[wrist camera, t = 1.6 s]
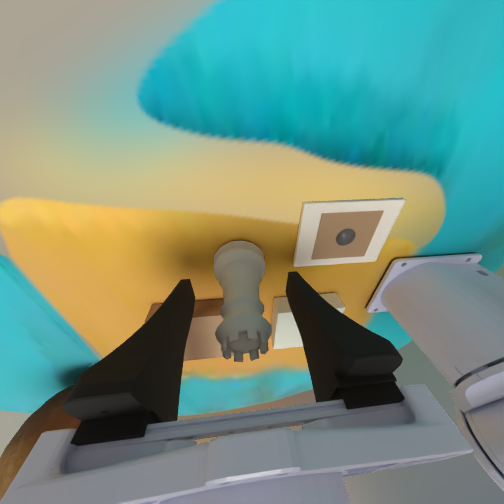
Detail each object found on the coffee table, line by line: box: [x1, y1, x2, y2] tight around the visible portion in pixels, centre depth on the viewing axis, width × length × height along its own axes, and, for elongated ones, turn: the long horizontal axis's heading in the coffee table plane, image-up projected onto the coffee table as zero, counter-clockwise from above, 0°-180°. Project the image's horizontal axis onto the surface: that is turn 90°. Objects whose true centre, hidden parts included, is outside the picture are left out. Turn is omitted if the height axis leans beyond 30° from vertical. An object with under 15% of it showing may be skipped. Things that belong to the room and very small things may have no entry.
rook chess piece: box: [213, 240, 272, 362], centre depth 13 cm, size 4×4×8 cm
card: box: [293, 198, 405, 267], centre depth 15 cm, size 8×6×1 cm
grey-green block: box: [271, 293, 346, 349], centre depth 21 cm, size 7×7×2 cm
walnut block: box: [145, 299, 234, 361], centre depth 20 cm, size 8×8×2 cm
